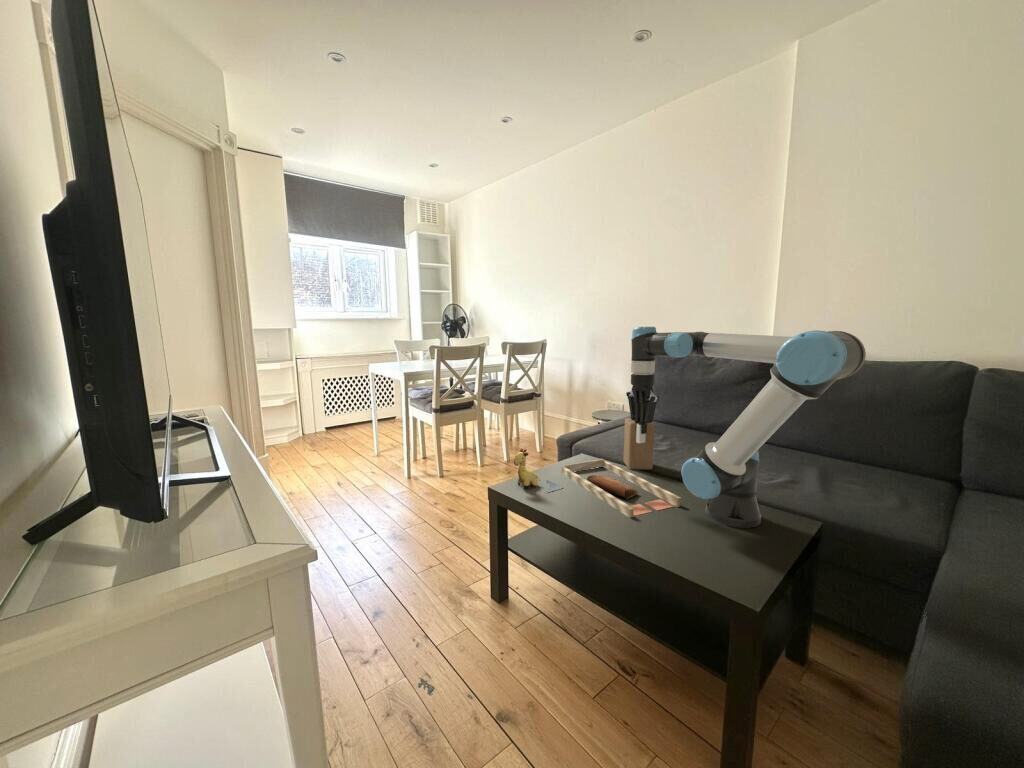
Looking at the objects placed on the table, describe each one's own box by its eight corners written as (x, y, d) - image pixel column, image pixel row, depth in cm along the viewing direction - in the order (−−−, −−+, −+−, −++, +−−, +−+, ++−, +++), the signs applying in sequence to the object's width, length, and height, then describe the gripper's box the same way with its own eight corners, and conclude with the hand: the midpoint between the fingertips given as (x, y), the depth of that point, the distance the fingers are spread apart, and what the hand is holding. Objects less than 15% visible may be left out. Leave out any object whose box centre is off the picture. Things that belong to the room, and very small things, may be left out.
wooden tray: (680, 506, 132) (681, 494, 131) (629, 518, 124) (629, 506, 123) (604, 467, 169) (605, 458, 169) (561, 474, 161) (561, 465, 160)
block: (653, 470, 165) (655, 423, 163) (628, 470, 166) (630, 423, 163) (645, 462, 175) (647, 417, 173) (622, 462, 176) (624, 417, 173)
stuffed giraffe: (497, 488, 149) (497, 446, 146) (535, 477, 159) (535, 438, 157) (524, 503, 136) (524, 458, 134) (563, 490, 146) (564, 448, 144)
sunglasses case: (640, 491, 140) (634, 478, 137) (630, 506, 138) (623, 494, 135) (600, 477, 155) (594, 465, 152) (590, 491, 152) (583, 479, 149)
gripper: (666, 374, 129) (663, 445, 132) (637, 371, 141) (635, 436, 144) (648, 375, 126) (646, 448, 129) (620, 372, 138) (619, 439, 141)
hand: (640, 442), depth 137 cm, fingers closed
